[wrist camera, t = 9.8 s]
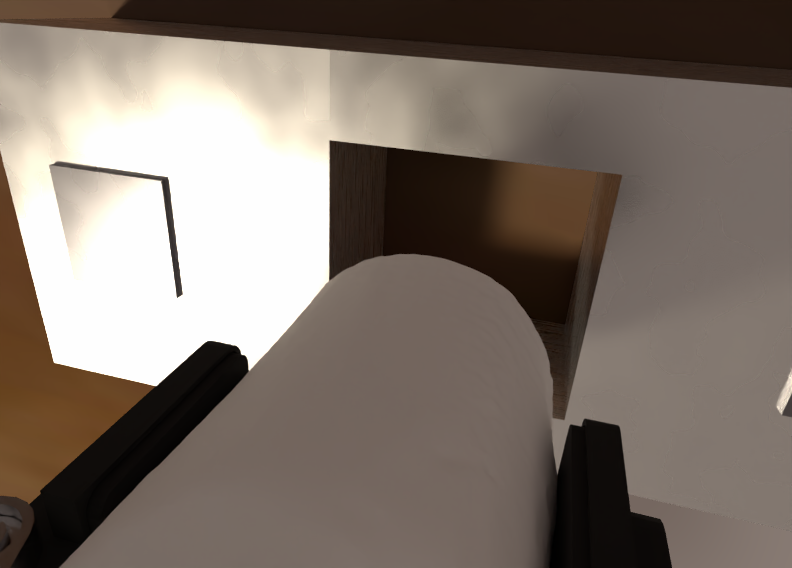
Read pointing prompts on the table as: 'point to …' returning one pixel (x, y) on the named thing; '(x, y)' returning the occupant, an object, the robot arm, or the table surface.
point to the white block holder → (365, 208)
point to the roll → (364, 440)
